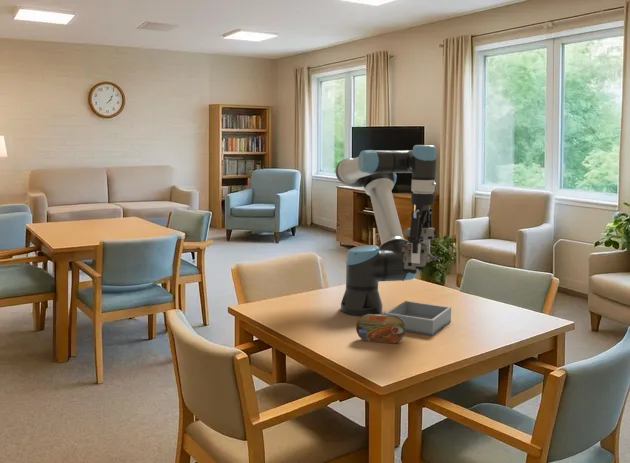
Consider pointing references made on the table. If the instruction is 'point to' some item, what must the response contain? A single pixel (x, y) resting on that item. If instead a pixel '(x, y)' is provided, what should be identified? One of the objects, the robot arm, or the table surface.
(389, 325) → the tin
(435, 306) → the bin
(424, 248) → the figurine
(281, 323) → the table surface
